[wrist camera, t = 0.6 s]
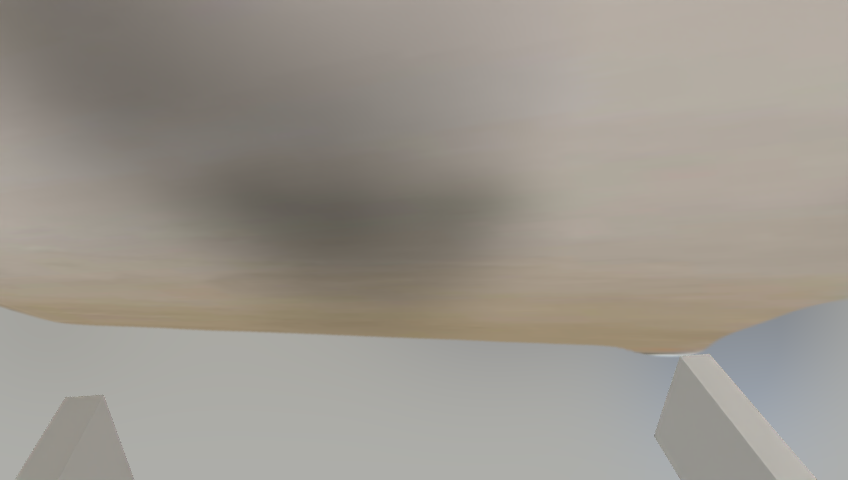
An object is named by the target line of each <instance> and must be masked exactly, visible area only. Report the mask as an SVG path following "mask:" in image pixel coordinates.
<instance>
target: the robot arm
mask: <svg viewBox="0 0 848 480" xmlns="http://www.w3.org/2000/svg"><path fill="white" fill-rule="evenodd" d="M654 437H655V438H656V440H657V442H658V443H659V445H660V447H661V448H662V450H663V451H664V453H665V455H666V456H667V458H668V460H669V461H670V463H671V464H672V466H673V468H674V469H675V471H676V473H677V475H678V476H679V478H680V479H681V480H817V479H816V478H815V477H814V475H813V474H812V473H811V472H810V471H809V470H808V468H807V467H806V466H805V465H804V464H803V463H802V461H801V460H800V459H799V458H798V457H797V456H796V454H795V453H794V452H793V451H792V450H791V449H790V447H789V446H788V445H787V444H786V443H785V442H784V441H783V439H782V438H781V437H780V436H779V435H778V433H777V432H776V431H775V430H774V429H773V428H772V426H771V425H770V424H769V423H768V422H767V421H766V419H765V418H764V417H763V416H762V415H761V414H760V413H759V411H758V410H757V409H756V408H755V407H754V405H753V404H752V403H751V402H750V401H749V400H748V399H747V397H746V396H745V395H744V394H743V393H742V391H741V390H740V389H739V388H738V387H737V386H736V384H735V383H734V382H733V381H732V380H731V379H730V377H728V375H727V374H726V373H725V371H724V370H723V369H722V368H721V367H720V366H719V365H718V363H717V362H716V361H715V360H714V359H713V358H712V356H711V355H710V354H705V355H689V356H680V357H679V361H678V364H677V367H676V370H675V373H674V376H673V379H672V382H671V385H670V389H669V391H668V395H667V398H666V401H665V404H664V407H663V410H662V413H661V416H660V419H659V422H658V425H657V429H656V431H655V435H654ZM15 480H134V478H133V475H132V473H131V470H130V467H129V464H128V461H127V458H126V456H125V453H124V450H123V448H122V445H121V442H120V439H119V436H118V434H117V431H116V428H115V425H114V422H113V420H112V417H111V414H110V411H109V409H108V406H107V403H106V400H105V398H104V395H95V396H79V397H66V398H65V399H64V400H63V402H62V404H61V405H60V407H59V409H58V410H57V412H56V413H55V415H54V417H53V418H52V420H51V422H50V423H49V425H48V427H47V428H46V430H45V431H44V433H43V435H42V436H41V438H40V440H39V441H38V443H37V445H36V446H35V448H34V449H33V451H32V453H31V454H30V456H29V458H28V459H27V461H26V462H25V464H24V466H23V467H22V469H21V471H20V472H19V474H18V476H17V477H16V479H15Z"/></svg>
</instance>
